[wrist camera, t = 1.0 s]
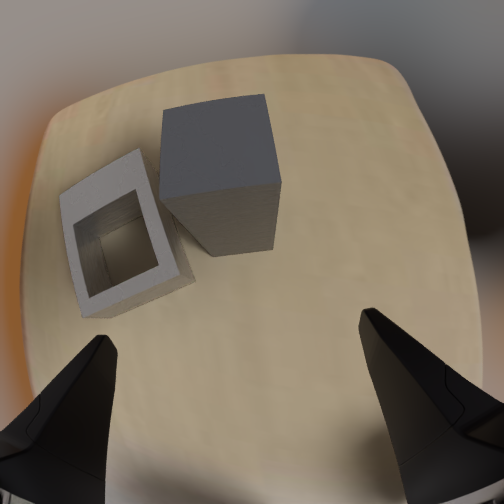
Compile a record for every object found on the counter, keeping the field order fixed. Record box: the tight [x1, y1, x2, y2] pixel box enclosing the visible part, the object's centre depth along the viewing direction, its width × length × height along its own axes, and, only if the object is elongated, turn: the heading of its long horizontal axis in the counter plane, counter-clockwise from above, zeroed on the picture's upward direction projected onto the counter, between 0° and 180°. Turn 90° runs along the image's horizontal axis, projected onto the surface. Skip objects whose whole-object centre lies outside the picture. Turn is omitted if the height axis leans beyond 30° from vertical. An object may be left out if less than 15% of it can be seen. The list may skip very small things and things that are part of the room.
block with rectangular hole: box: [59, 148, 196, 318], centre depth 21 cm, size 12×9×4 cm
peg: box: [159, 94, 282, 257], centre depth 17 cm, size 5×5×12 cm
